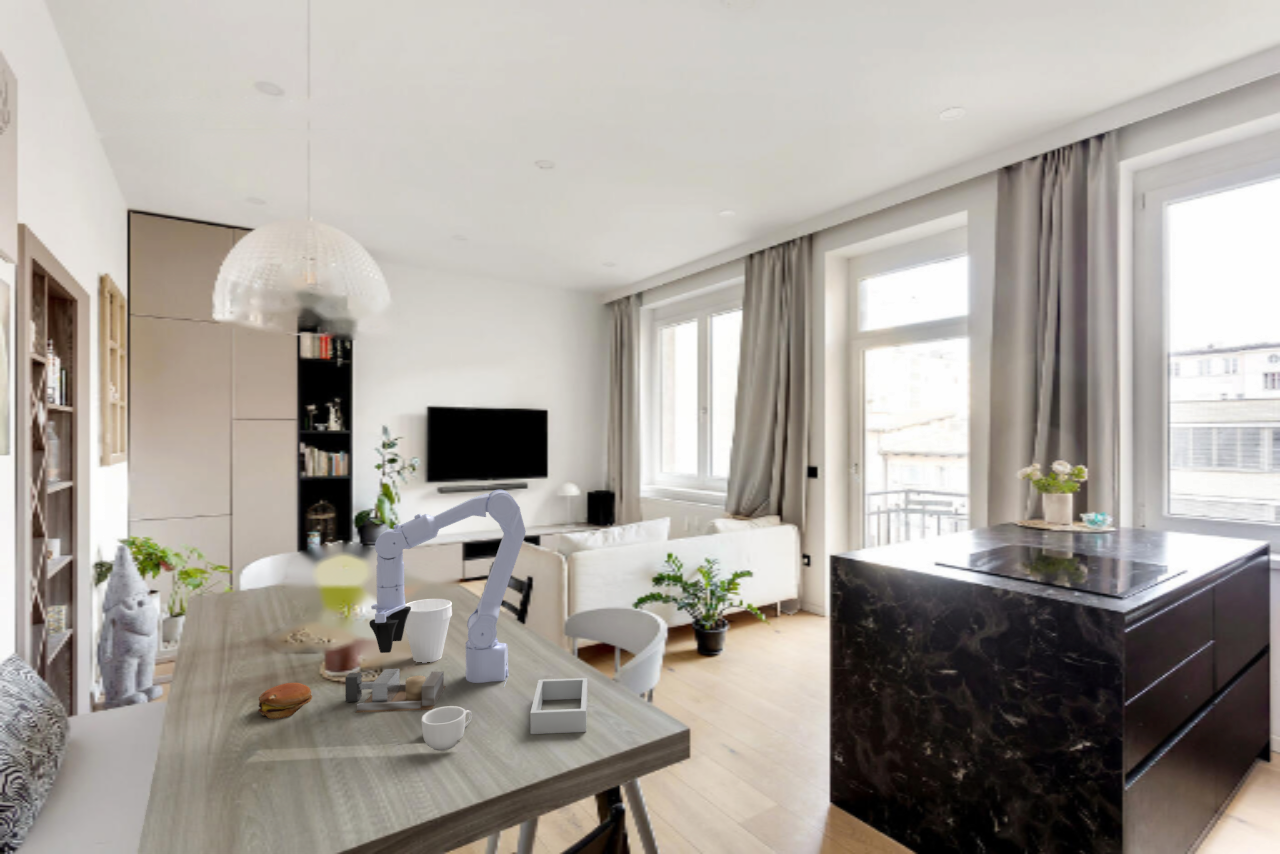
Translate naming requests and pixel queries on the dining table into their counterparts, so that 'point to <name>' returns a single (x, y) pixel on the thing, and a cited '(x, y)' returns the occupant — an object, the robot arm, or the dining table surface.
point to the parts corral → (564, 717)
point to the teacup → (444, 726)
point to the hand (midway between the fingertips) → (391, 646)
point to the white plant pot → (428, 628)
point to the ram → (373, 686)
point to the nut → (414, 688)
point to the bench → (398, 703)
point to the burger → (284, 700)
